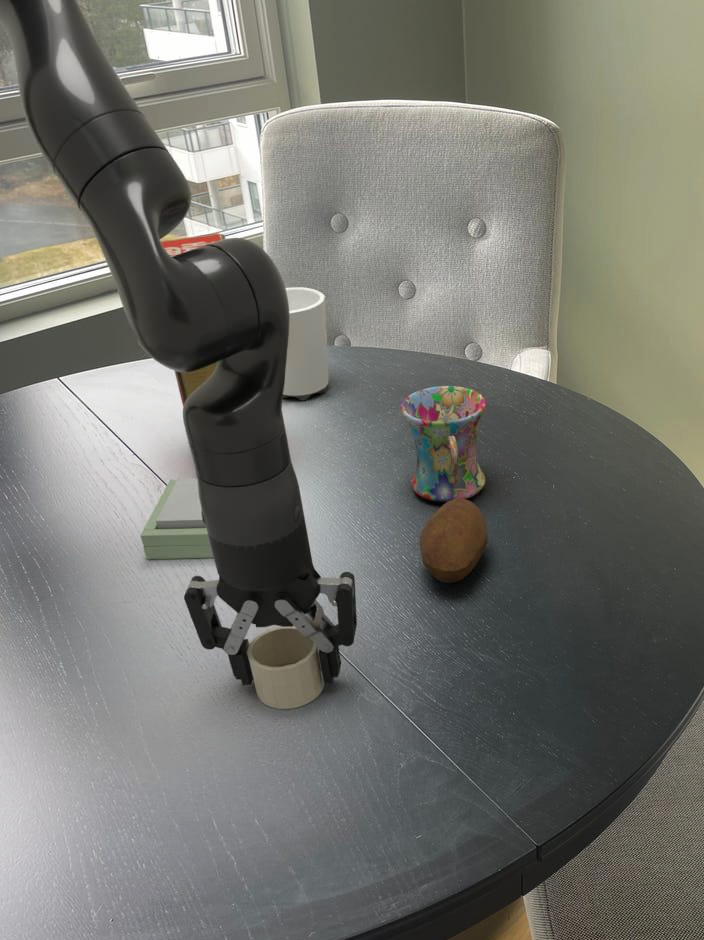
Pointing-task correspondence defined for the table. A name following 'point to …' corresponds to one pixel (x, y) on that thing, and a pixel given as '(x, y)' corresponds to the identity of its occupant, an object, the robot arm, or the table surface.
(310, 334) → the cup
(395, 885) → the table surface
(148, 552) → the scale
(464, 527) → the potato
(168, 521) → the pan
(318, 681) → the beige round pot
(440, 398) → the mug
